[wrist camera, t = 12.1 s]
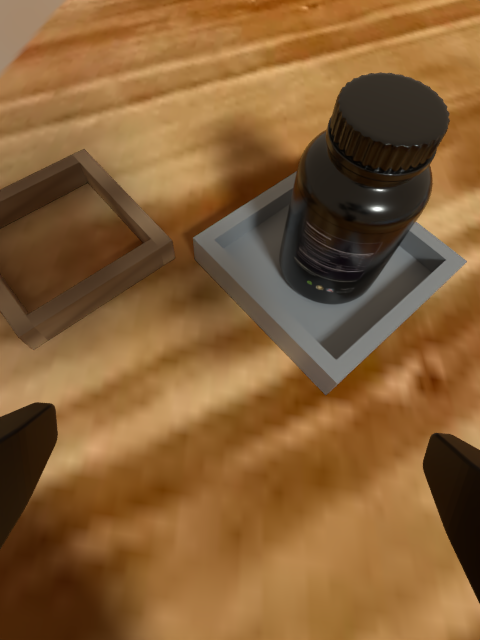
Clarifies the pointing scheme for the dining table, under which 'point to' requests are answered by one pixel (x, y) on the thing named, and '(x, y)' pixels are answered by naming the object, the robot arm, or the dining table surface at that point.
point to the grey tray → (308, 316)
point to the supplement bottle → (361, 186)
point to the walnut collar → (102, 284)
